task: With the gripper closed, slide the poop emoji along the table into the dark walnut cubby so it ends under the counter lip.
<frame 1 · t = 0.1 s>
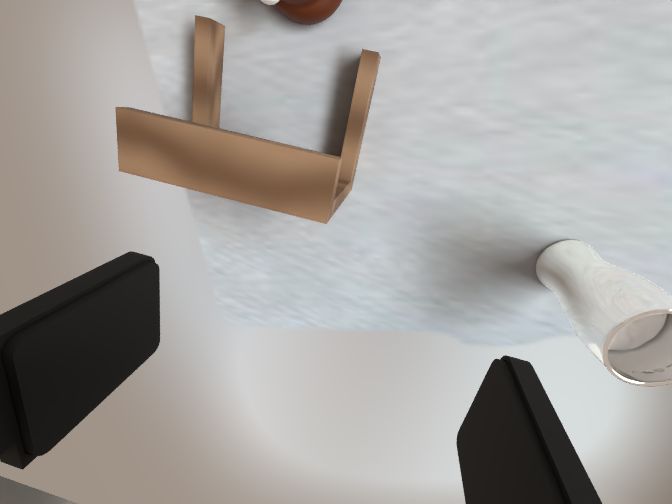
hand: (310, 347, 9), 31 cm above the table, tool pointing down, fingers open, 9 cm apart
cubby: (285, 103, 37), on the table
beer glass: (564, 264, 38), on the table
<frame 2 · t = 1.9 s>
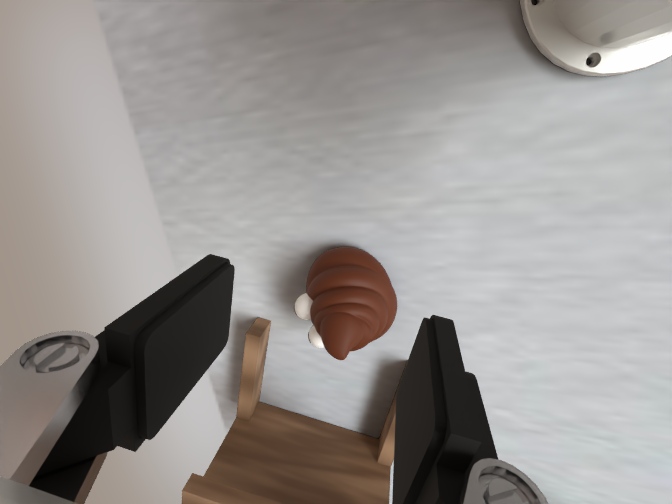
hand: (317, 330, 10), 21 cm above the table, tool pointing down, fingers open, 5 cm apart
poop emoji: (352, 289, 34), on the table
cubby: (327, 382, 39), on the table
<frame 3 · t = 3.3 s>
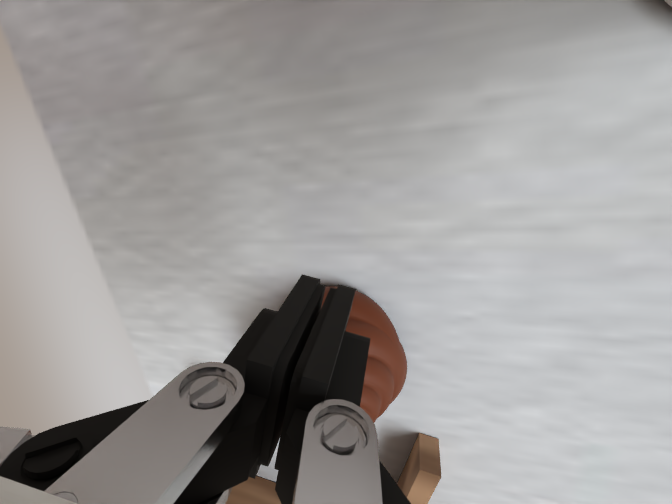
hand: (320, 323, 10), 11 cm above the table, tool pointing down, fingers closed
poop emoji: (345, 339, 25), on the table
cubby: (314, 451, 30), on the table
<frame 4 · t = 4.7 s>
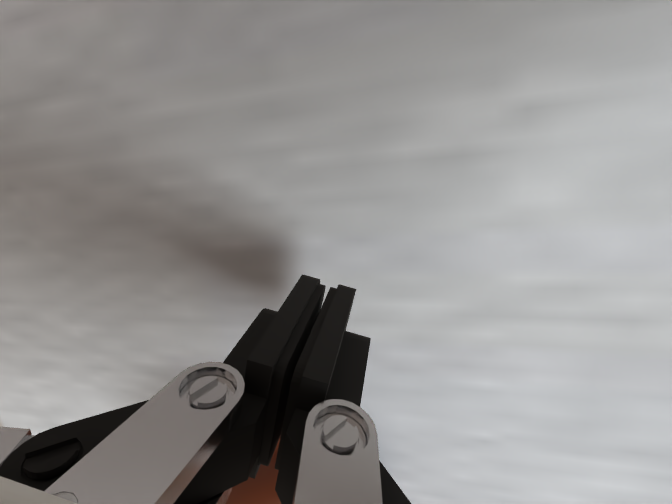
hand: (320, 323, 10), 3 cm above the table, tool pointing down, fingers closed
poop emoji: (304, 453, 17), on the table
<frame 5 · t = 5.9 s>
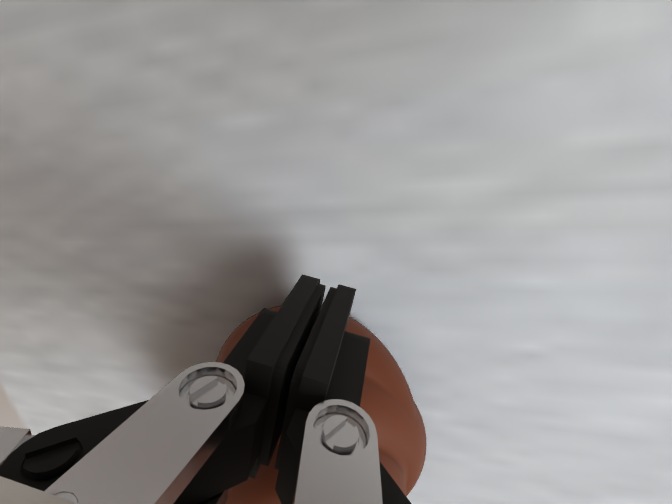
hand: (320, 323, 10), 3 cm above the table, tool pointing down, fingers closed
poop emoji: (322, 389, 15), on the table, touching gripper
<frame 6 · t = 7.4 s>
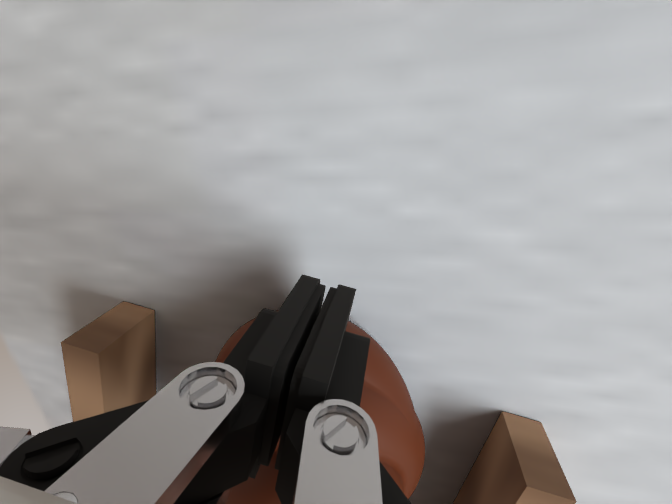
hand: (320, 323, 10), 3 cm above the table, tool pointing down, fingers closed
poop emoji: (320, 394, 15), on the table
cubby: (298, 454, 17), on the table
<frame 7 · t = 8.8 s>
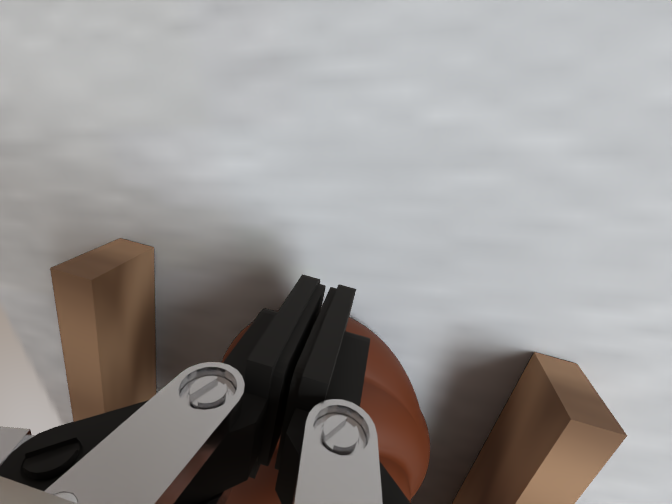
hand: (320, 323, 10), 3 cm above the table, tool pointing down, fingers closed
poop emoji: (325, 393, 15), on the table
cubby: (307, 409, 15), on the table
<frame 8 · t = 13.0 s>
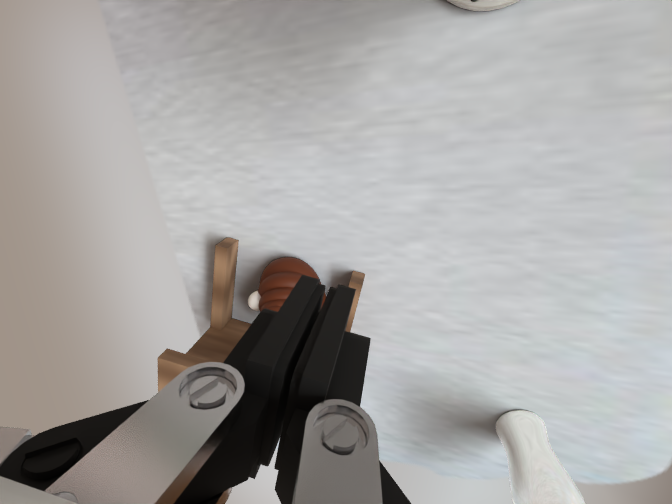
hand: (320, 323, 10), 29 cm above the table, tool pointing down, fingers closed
poop emoji: (295, 289, 45), on the table
cubby: (288, 296, 45), on the table
beer glass: (519, 425, 46), on the table
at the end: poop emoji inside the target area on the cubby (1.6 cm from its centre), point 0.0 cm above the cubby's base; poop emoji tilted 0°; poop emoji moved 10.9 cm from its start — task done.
